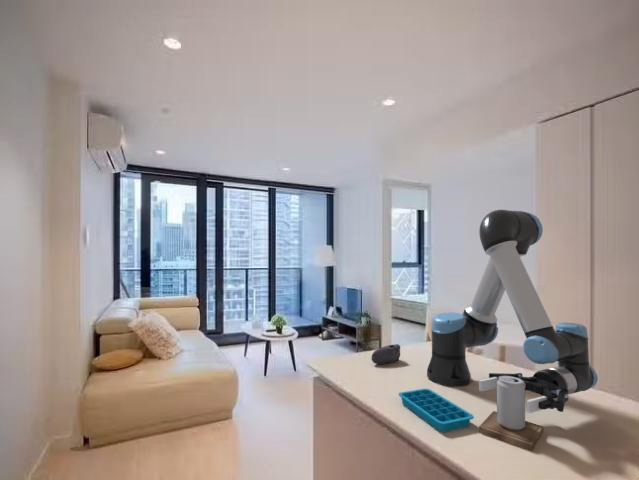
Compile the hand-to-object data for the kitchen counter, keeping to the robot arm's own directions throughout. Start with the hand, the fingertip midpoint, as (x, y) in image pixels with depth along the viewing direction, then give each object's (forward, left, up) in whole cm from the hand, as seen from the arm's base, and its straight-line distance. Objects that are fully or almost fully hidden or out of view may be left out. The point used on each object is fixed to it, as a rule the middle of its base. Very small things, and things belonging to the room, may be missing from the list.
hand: (502, 395), depth 88 cm
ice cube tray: (-18, -1, -11) cm, 21 cm away
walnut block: (+1, +3, -10) cm, 11 cm away
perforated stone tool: (-52, +27, -10) cm, 59 cm away
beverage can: (+1, +3, -8) cm, 9 cm away
